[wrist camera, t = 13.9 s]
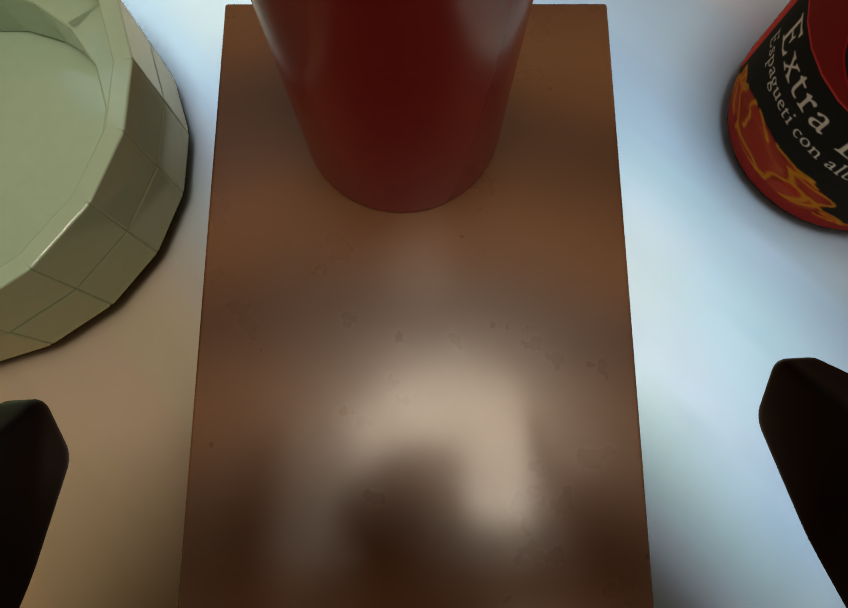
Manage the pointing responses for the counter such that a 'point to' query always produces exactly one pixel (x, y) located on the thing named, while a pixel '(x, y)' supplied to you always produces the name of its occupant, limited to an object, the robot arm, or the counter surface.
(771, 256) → the counter surface
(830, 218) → the canned food
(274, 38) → the drink can
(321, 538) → the cutting board
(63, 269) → the bowl
